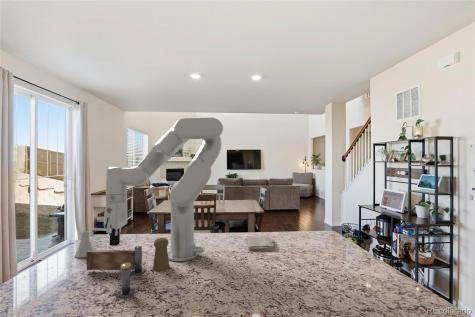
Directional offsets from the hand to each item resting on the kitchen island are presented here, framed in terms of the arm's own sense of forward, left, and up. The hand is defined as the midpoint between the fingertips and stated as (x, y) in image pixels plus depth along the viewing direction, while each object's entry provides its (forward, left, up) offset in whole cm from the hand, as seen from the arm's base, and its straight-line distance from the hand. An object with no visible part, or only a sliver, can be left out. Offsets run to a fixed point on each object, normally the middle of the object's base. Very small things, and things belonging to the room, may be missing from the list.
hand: (114, 244), depth 99 cm
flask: (+17, -8, -8) cm, 20 cm away
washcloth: (-58, -23, -8) cm, 63 cm away
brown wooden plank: (-3, +8, -6) cm, 10 cm away
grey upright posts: (-14, +15, -7) cm, 22 cm away
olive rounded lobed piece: (-20, +4, -7) cm, 22 cm away
